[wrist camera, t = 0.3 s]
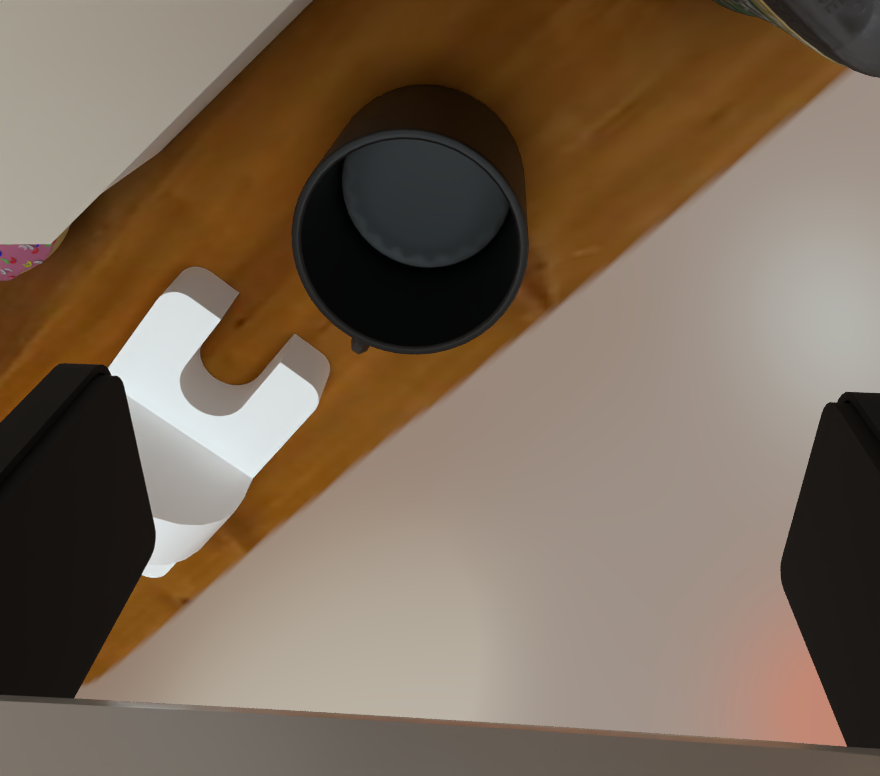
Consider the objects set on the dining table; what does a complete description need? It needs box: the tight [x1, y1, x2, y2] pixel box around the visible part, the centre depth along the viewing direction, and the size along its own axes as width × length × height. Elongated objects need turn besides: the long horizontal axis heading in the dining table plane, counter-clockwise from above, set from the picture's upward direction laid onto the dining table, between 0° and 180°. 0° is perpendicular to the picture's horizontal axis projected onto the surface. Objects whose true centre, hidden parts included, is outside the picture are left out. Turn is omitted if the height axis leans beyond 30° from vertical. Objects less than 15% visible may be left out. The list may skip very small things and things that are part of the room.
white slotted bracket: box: [108, 267, 330, 578], centre depth 44 cm, size 10×18×10 cm, turn 140°
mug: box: [292, 85, 529, 354], centre depth 37 cm, size 9×12×9 cm
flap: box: [0, 0, 294, 244], centre depth 22 cm, size 20×9×1 cm
